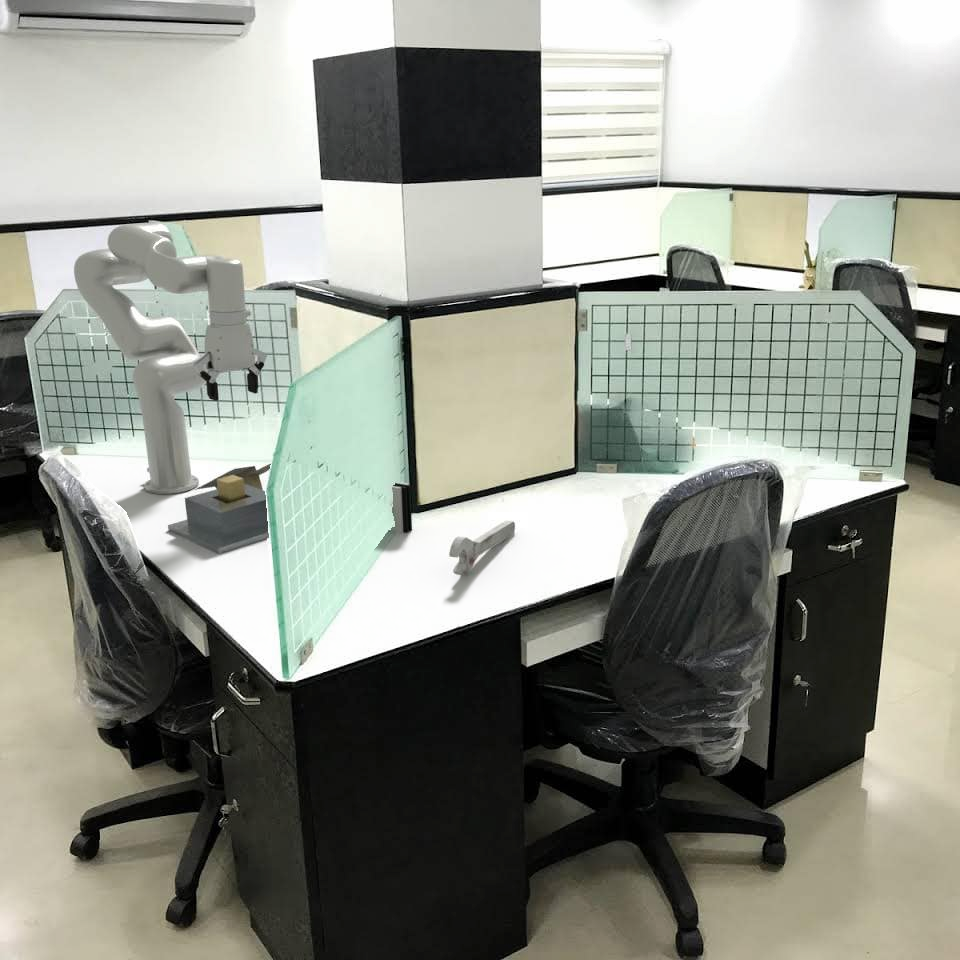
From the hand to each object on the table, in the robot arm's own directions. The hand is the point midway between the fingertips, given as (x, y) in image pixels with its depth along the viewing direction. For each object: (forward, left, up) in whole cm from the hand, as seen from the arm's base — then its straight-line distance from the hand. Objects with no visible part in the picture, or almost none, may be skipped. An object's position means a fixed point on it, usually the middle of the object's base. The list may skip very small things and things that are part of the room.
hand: (233, 395), depth 219 cm
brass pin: (+11, -9, -25) cm, 28 cm away
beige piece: (-8, +5, -26) cm, 28 cm away
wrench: (+61, +15, -26) cm, 68 cm away
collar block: (+11, -9, -26) cm, 29 cm away
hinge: (+34, +12, -26) cm, 44 cm away
